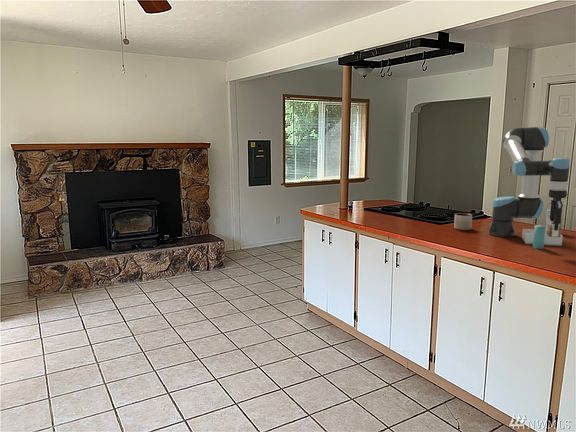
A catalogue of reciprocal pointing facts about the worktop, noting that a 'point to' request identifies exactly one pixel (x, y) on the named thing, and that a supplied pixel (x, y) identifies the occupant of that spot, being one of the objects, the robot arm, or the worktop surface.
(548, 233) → the walnut cube
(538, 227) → the teal cylinder
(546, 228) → the syrup box
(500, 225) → the robot arm
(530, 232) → the grey tote
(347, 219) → the worktop surface
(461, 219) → the planter
